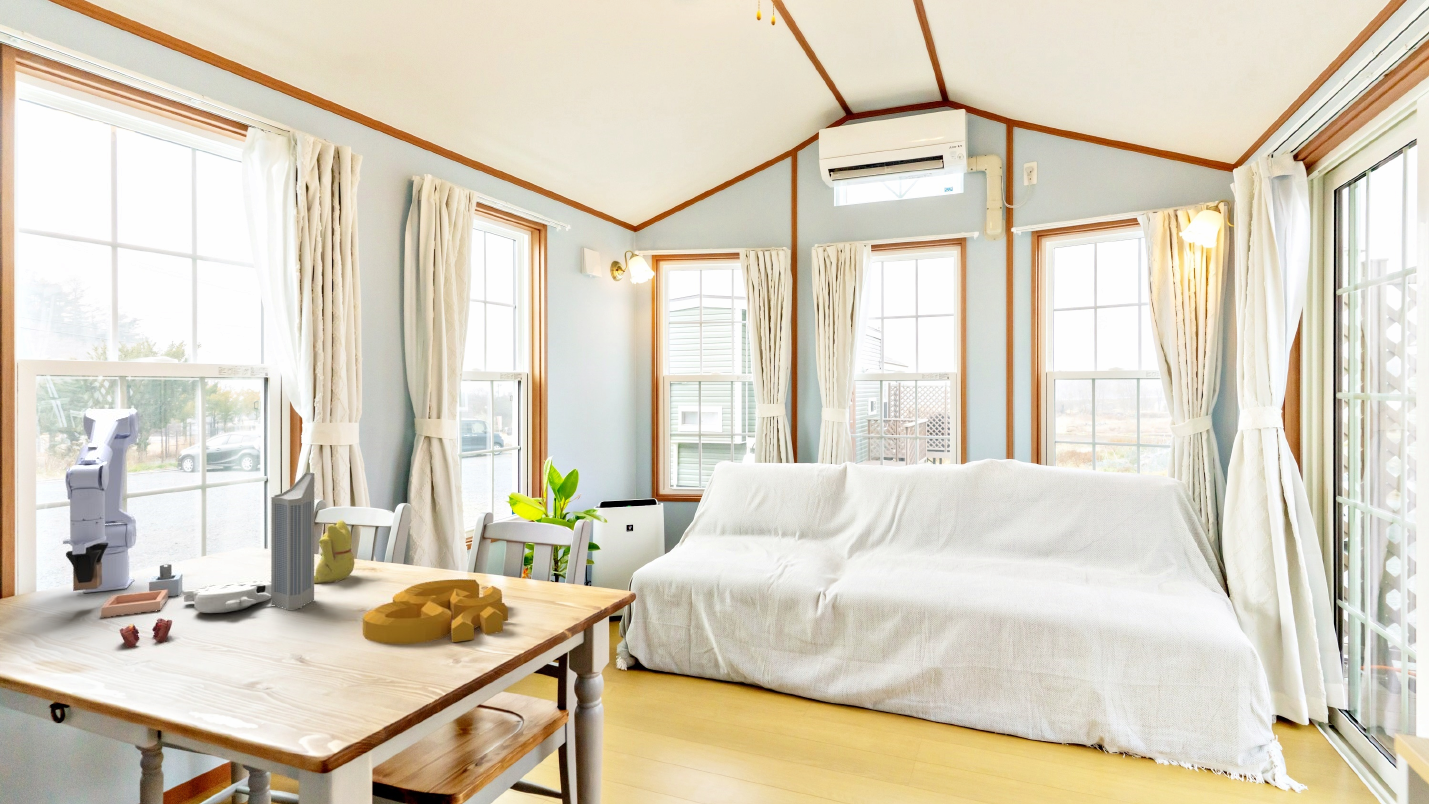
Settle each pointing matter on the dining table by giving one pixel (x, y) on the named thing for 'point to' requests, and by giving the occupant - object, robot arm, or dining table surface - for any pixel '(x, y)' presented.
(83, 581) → the robot arm
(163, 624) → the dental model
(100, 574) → the walnut block
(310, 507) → the building model
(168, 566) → the pin
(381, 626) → the decorative symbol
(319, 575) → the figurine
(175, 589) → the slate block
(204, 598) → the toy
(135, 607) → the tray
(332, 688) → the dining table surface
